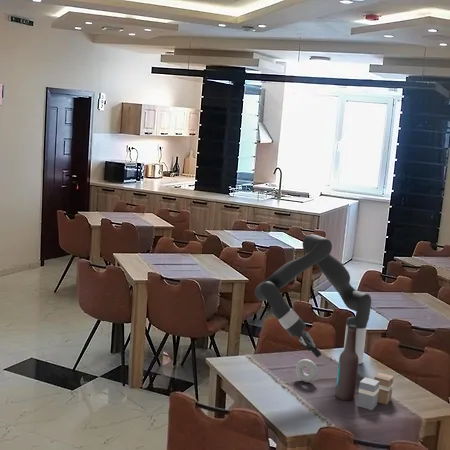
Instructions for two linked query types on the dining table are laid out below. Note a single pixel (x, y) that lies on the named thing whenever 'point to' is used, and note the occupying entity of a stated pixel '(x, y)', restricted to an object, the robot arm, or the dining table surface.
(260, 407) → the dining table surface
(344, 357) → the beer bottle
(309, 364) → the donut
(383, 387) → the tan block
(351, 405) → the dining table surface
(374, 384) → the slate block
